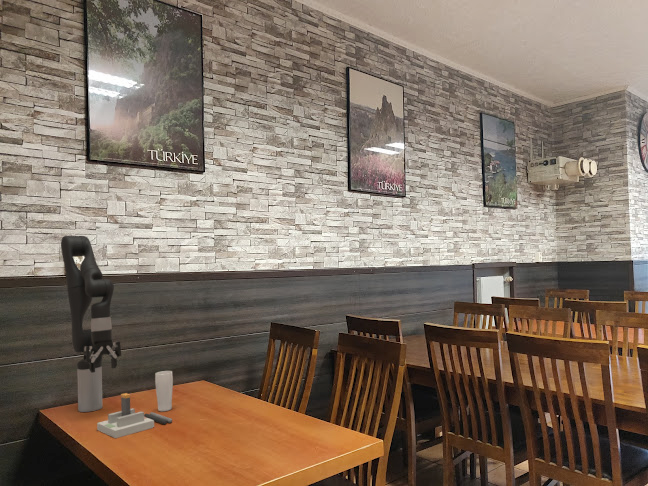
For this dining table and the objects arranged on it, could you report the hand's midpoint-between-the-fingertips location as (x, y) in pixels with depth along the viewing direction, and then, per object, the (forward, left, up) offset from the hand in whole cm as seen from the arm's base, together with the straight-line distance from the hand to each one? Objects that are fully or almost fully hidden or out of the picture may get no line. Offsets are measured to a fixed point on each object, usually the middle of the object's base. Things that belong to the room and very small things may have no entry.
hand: (103, 370), depth 195 cm
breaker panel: (+24, -2, -18) cm, 30 cm away
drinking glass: (+13, +19, -18) cm, 29 cm away
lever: (+24, -2, -14) cm, 28 cm away
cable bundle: (+24, +10, -18) cm, 32 cm away
